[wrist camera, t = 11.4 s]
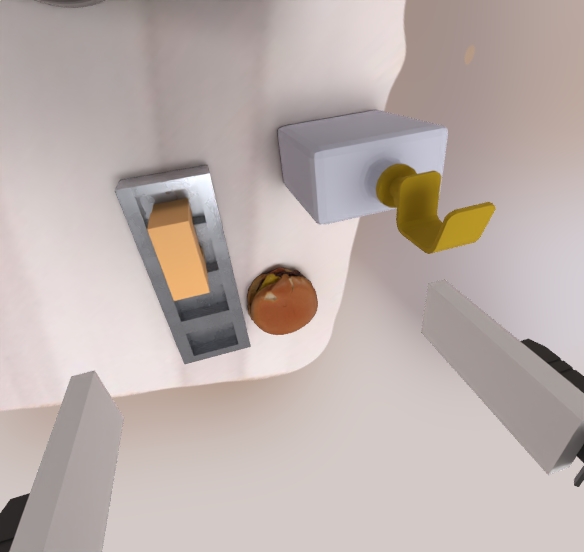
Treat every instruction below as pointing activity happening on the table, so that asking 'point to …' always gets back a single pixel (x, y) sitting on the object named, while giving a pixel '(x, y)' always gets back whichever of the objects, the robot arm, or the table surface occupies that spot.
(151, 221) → the orange bridge block
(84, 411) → the robot arm
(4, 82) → the table surface
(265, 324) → the burger
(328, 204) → the soap bottle
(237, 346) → the grey compartment tray
